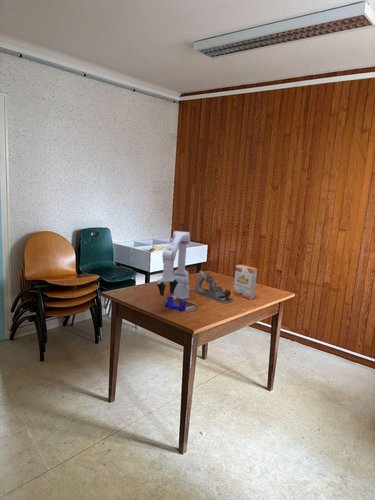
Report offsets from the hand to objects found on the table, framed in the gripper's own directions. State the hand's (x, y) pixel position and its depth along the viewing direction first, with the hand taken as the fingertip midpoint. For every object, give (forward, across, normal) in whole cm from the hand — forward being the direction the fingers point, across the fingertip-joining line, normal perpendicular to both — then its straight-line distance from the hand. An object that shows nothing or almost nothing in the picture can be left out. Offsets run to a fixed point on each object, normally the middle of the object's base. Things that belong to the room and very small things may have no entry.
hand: (166, 294), depth 210 cm
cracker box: (+10, +64, -9) cm, 65 cm away
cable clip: (+10, +7, 0) cm, 13 cm away
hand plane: (+10, +46, +4) cm, 47 cm away
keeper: (+10, +13, 0) cm, 16 cm away
